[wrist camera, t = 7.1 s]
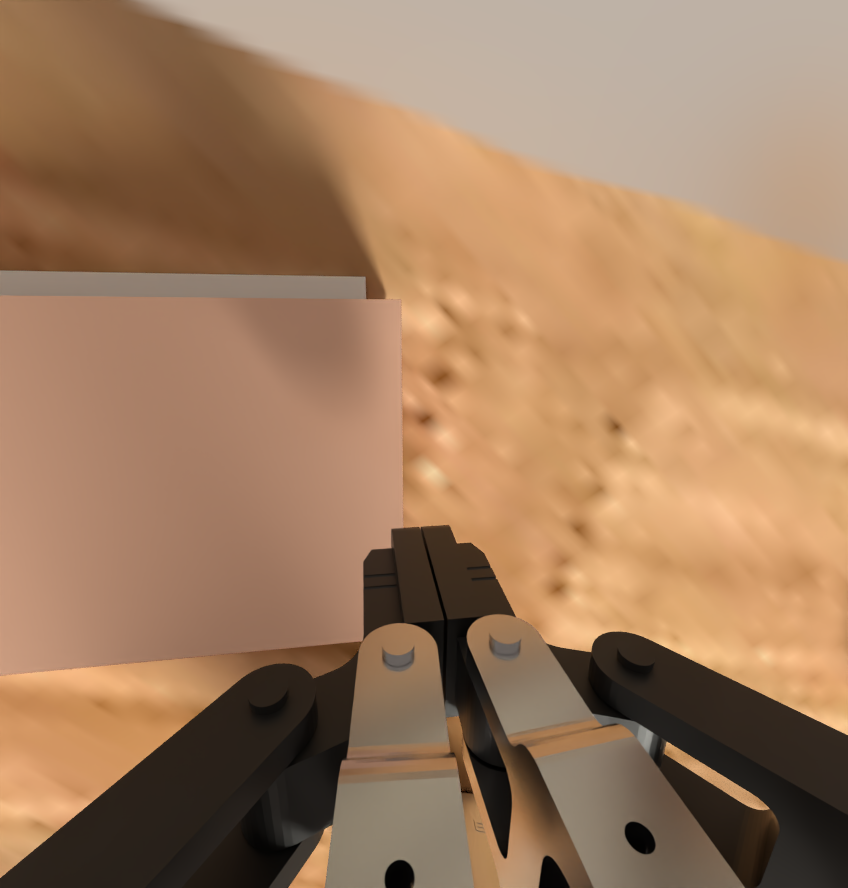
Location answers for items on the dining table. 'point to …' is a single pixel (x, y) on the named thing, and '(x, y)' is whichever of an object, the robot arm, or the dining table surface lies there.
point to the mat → (179, 285)
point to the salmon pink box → (192, 474)
